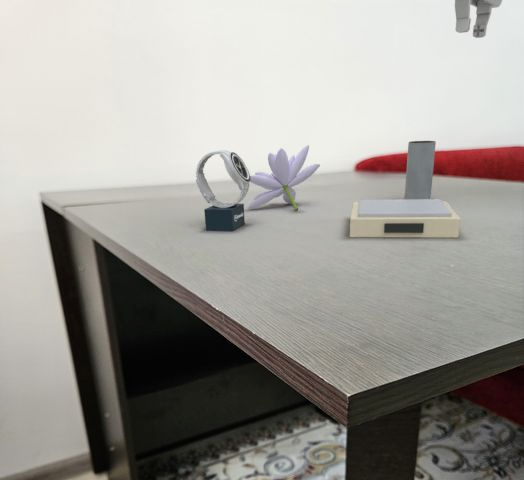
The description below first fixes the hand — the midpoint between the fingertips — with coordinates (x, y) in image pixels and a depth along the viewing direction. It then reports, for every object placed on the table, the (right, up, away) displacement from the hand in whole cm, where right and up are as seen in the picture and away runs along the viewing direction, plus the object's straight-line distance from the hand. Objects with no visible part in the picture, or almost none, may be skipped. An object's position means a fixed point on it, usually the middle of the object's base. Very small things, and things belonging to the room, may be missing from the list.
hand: (470, 34), depth 85 cm
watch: (-40, -33, -5) cm, 52 cm away
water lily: (-30, -25, +10) cm, 41 cm away
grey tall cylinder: (-6, -25, +10) cm, 27 cm away
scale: (-14, -34, -9) cm, 38 cm away
